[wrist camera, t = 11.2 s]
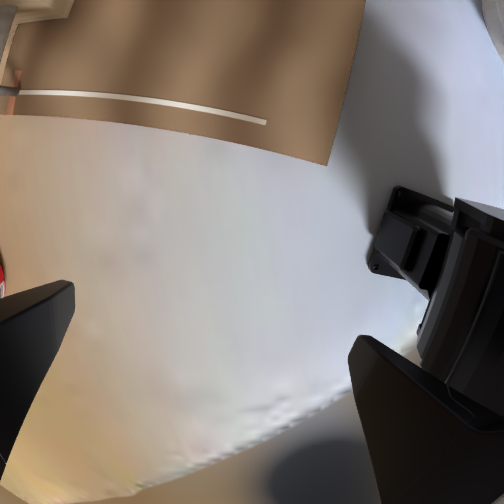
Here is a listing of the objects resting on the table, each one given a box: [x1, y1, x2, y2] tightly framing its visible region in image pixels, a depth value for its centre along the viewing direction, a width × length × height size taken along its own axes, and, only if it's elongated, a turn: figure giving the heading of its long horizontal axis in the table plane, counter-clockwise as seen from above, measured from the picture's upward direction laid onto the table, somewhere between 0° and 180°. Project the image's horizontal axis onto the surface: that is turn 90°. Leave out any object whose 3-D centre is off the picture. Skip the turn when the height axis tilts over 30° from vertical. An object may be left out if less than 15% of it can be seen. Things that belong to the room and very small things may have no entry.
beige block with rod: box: [0, 0, 74, 97], centre depth 10 cm, size 5×12×8 cm, turn 166°
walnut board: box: [0, 0, 366, 166], centre depth 15 cm, size 22×12×2 cm, turn 76°
